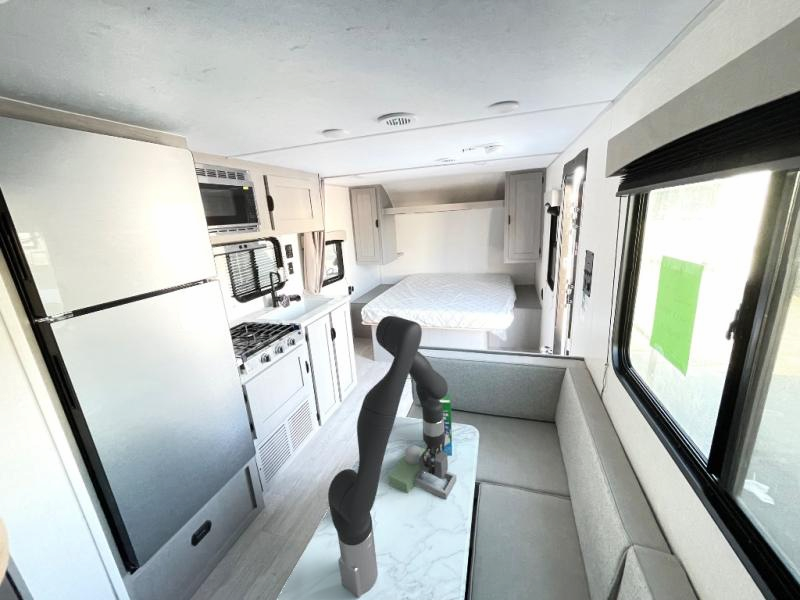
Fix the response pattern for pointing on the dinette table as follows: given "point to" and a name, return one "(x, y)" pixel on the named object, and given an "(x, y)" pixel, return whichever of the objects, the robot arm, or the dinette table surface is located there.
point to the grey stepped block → (436, 464)
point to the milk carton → (447, 424)
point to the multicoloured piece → (416, 474)
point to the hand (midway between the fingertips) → (435, 467)
